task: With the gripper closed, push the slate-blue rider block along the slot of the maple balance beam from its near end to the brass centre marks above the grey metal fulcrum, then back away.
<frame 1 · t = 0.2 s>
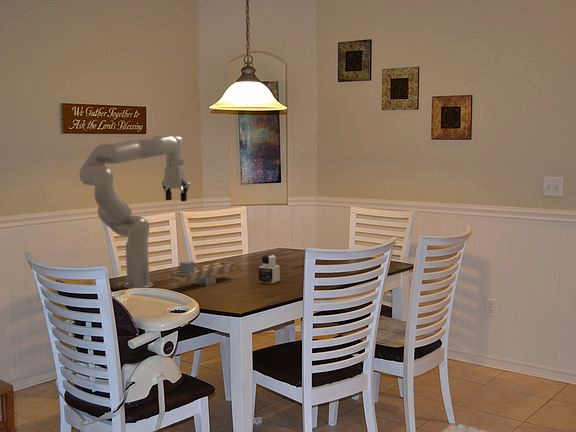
hand: (176, 200, 327), 36 cm above the table, tool pointing down, fingers open, 9 cm apart
fulcrum: (204, 283, 318), on the table
medicine bottle: (269, 282, 320), on the table
rider: (187, 267, 310), point 9 cm above the table, slide at -10.0 cm
beam: (204, 271, 318), on the fulcrum, point 6 cm above the table
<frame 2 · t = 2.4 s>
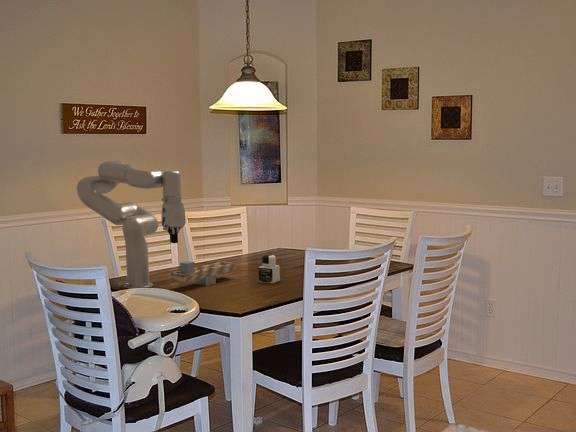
hand: (174, 242, 302), 21 cm above the table, tool pointing down, fingers closed
nothing on the table moved.
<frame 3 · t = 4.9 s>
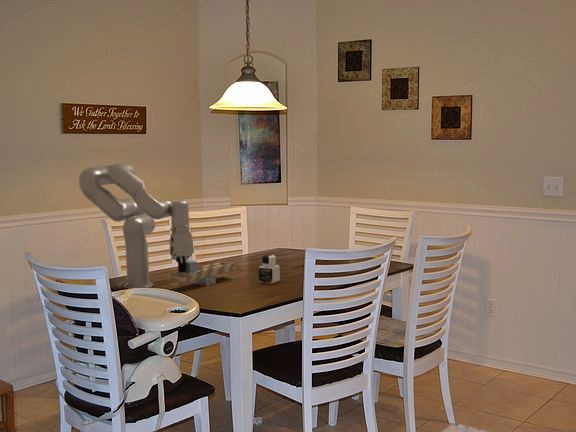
hand: (182, 271, 307), 8 cm above the table, tool pointing down, fingers closed
rider: (189, 267, 311), point 9 cm above the table, slide at -8.6 cm, touching gripper
everything else where it was.
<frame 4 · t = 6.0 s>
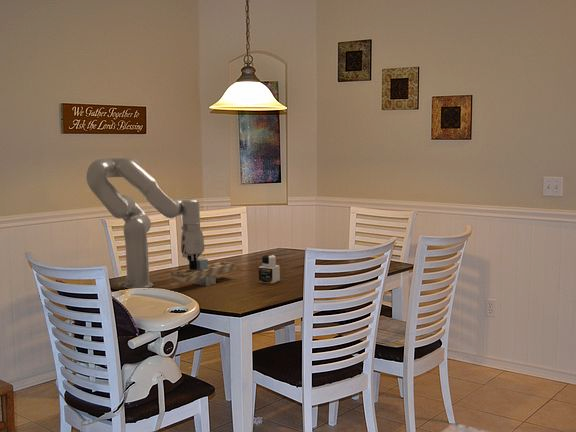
hand: (193, 269, 312), 8 cm above the table, tool pointing down, fingers closed
rider: (200, 265, 316), point 9 cm above the table, slide at -2.2 cm, touching gripper
everything else where it was.
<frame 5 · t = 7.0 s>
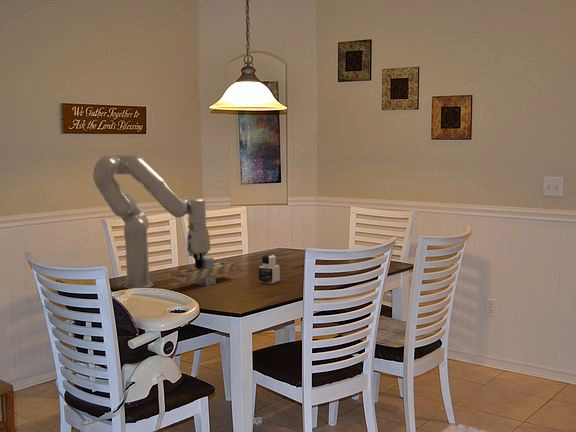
hand: (199, 267, 315), 8 cm above the table, tool pointing down, fingers closed
rider: (206, 263, 318), point 9 cm above the table, slide at 1.4 cm, touching gripper
everything else where it was.
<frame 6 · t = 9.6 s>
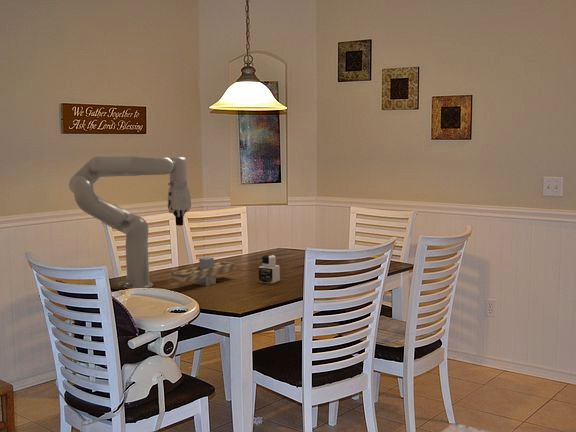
hand: (179, 225, 319), 26 cm above the table, tool pointing down, fingers closed
rider: (206, 263, 318), point 9 cm above the table, slide at 1.5 cm
everything else where it was.
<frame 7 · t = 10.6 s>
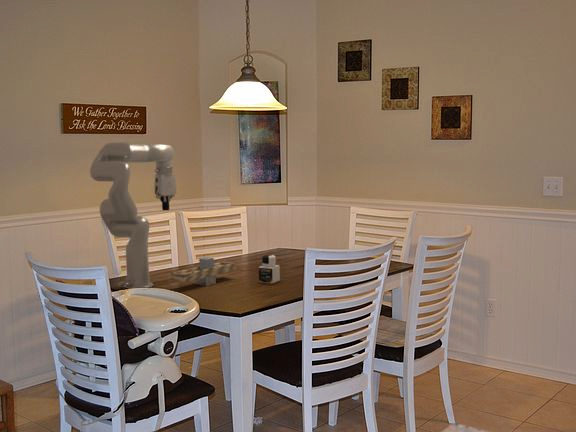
hand: (165, 210, 336), 31 cm above the table, tool pointing down, fingers closed
nothing on the table moved.
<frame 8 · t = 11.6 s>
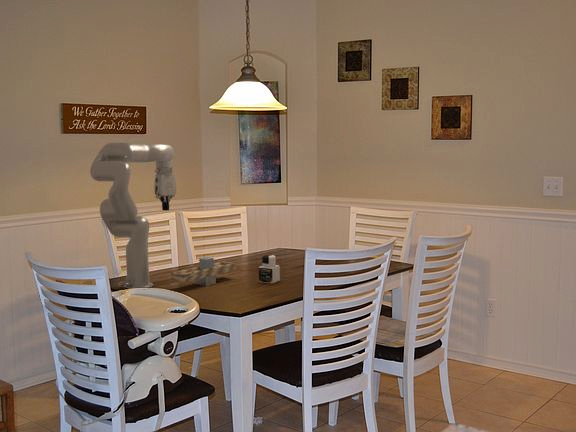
hand: (165, 210, 336), 31 cm above the table, tool pointing down, fingers closed
nothing on the table moved.
at the end: rider slide at 1.5 cm; the gripper is holding nothing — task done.
